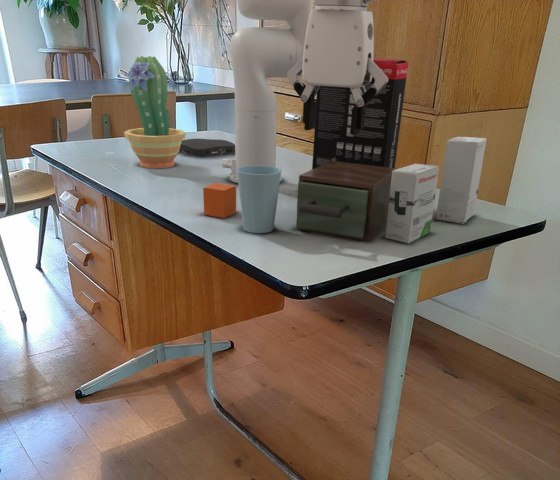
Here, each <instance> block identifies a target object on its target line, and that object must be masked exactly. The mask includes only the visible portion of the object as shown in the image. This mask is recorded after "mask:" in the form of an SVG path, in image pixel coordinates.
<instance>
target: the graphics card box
mask: <svg viewBox="0 0 560 480" xmlns="http://www.w3.org/2000/svg"><path fill="white" fill-rule="evenodd" d="M373 61H374V63H375V64H376V65H377V66H378V67H379V68H380V69H381V70H382V72H383V73H384V74H385V75H386V76H387V77H388V82H387V84H386V85H385V86H384V87H383V88H382V89H381V90H380V91H379V93H378V94H377V95H376V96H375V97H374V98H373V99H372V100H371V101H370V102H369V104H368V105H366V110H365V120H364V127H363V129H361V132H360V133H359V134H356V135H351V134H350V128H351V116H352V108H353V107H354V106H355V100H354V97H353V94H352V91H351V89H350V88H348V87H332V86H320V88H319V90H318V92H317V94H316V97H315V99H316V100H315V101H316V103H317V114H316V127H315V128H314V135H313V148H312V165H311V170H312V169H315V168H317V167H319V166H321V165H324V164H326V163H328V162H330V161H337V162H346V163H354V164H363V165H371V166H380V167H388V168H396V161H397V154H398V146H399V137H400V131H401V123H402V115H403V108H404V100H405V93H406V84H407V78H408V72H409V71H408V70H409V62H408V61H407V60H404V59H397V58H396V59H395V58H383V57H382V58H380V57H373ZM374 83H375V79H374V78H373V77H372V80H371V82H370V83H369V84H368V85H365V86H364V87H365V90H366V91H367V90H368V89H370V88H371V87H372V85H373V84H374Z"/></svg>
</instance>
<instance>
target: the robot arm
mask: <svg viewBox="0 0 560 480" xmlns="http://www.w3.org/2000/svg"><path fill="white" fill-rule="evenodd" d="M372 2H377V0H237V7H238V10H239V13H240V14H241V15H242V16H243V17H244V18H247V19H249V20H258V21H279V22H280V21H281V22H286V24H287V28H283V27H282V28H281V27H266V26H265V27H263V26H259V27H258V26H249V27H243V28H240V29H238V30H237V31H235V32H234V33H233V35H232V37H231V39H230V43H229V52H230V53H229V54H230V55H229V56H230V62H231V69H232V76H233V87H234V131H235V132H234V134H235V136H234V137H235V138H234V144H235V153H234V154H235V156H234V157H235V158H228V157H227V158H226V157H224V158H223V159H222V163H221V167H222V168H224V169H230V170H231V172H230V173H229V174H228V179H229V181H230V182H233V183H235V184H238V177H237V169H238V168H240V167H243V166H253V165H260V166H271V167H276V168H277V166H276V165H277V164H276V163H277V161H276V160H277V128H278V127H277V125H278V121H277V120H278V100H277V97H276V94H275V92H274V90H273V89H272V87H271V86H270V84H269V83H268V81H267V79H271V78H279V79H281V78H285V79H286V78H287V79H288V81H289V82H290V84H291V86H292V87H293V89H294V91H295V93H296V94H297V95H298V97H299V98H300V102H302V103H303V106H302V123H303V124H304V127H303V128H304V131H311V130H315V127H316V114H317V103H316V100H315V99H316V97H317V92H318V90H319V88H320V86H332V87H348V88H350V89H351V91H352V94H353V97H354V100H355V106H354V107H353V108H352V116H351V128H350V134H351V135H356V134H359V133H360V132H361V129H363V127H364V120H365V110H366V105H368V104H369V102H370V101H371V100H372V99H373V98H374V97H375V96H376V95H377V94H378V93H379V91H380V90H381V89H382V88H383V87H384V86H385V85H386V84H387V82H388V77H387V76H386V75H385V74H384V73H383V72H382V70H381V69H380V68H379V67H378V66H377V65H376V64H375V63H374V61H373V58H374V56H375V55H374V49H375V45H374V43H375V42H374V41H375V39H374V37H375V35H374V34H375V33H374V16H373V11H371V10H369V11H368V7H369V4H370V3H372ZM301 77H302V79H301ZM372 77H373V78H374V79H375V83H374V84H373V85H372V87H371V88H370V89H368V90H367V91H366V90H365V87H364V86H365V85H368V84H369V83H370V82H371V80H372ZM303 81H304V82H303ZM305 83H306V84H305ZM282 180H283V176H282V174H281V177H280V182H282Z"/></svg>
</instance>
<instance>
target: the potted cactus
mask: <svg viewBox="0 0 560 480" xmlns="http://www.w3.org/2000/svg"><path fill="white" fill-rule="evenodd" d="M125 78H128V82H129V83H128V84H129V90H130V95H131V97H132V99H133V101H134V103H135V105H136V107H137V110H138V114H139V119H140V121H141V125H142V127H138V128H132V129H131V128H130V129H126V130H125V131H123V134H124V138H125V139H126V140H127V141H128V142H129V145H130V147H131V150H132V152H133V153H134V154H135V156H136V157H137V159H139V166H140V167H143V168H147V169H166V168H172V167H174V166H175V165H176V163H175V161H174V160H175V159H176V157H177V155H178V154H179V153H180V152H179V150H180V146H181V142H182V140H185V138H186V131H184V130H182V129H178V128H171V127H169V119H168V112H167V99H168V75H167V73H166V70H165V69H164V67H163V66H162V64H161V62H159V60H158V59H157V58H156V56H154V55H153V56H151V55H148V56H146V57H145V56H142V55H141V56H137V57H136V58H135V60H134V62H133V64H132V66H130V67H129V71H128V72H127V73H126V76H125Z"/></svg>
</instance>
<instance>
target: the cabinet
mask: <svg viewBox="0 0 560 480" xmlns="http://www.w3.org/2000/svg"><path fill="white" fill-rule="evenodd" d="M396 169H398V168H396V167H395V168H388V167H380V166H371V165H363V164H354V163H346V162H337V161H330V162H328V163H326V164H324V165H321V166H319V167H317V168H315V169H312V168H311V169H310V170H308V171H305V172H303V173H301V174H299V175H298V183H299V182H308V181H311V182H319V183H326V184H334V185H341V186H349V187H356V188H364V189H369V193H368V203H367V213H366V222H365V232H364V237H363V238H357V237H351V236H345V235H339V234H333V233H327V232H321V231H315V230H309V229H303V228H297V227H296V230H297V231H303V232H310V233H316V234H322V235H328V236H332V237H333V236H334V237H340V238H346V239H352V240H357V241H363V242H369V241H370V240H372V238H374V237H375V236H377V234H379V233H380V232H381V231H382V230H383V229H385V228H386V225H387V215H388V206H389V198H390V188H391V179H392V171H393V170H396Z"/></svg>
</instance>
